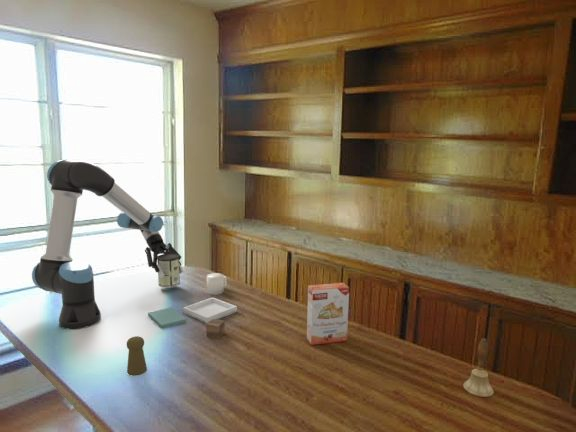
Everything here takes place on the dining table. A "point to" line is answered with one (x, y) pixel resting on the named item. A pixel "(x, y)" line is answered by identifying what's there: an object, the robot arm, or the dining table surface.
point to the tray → (209, 310)
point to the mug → (216, 283)
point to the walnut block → (215, 328)
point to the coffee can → (169, 270)
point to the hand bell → (479, 375)
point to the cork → (136, 356)
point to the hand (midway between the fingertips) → (172, 274)
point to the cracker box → (327, 313)
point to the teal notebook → (166, 317)
